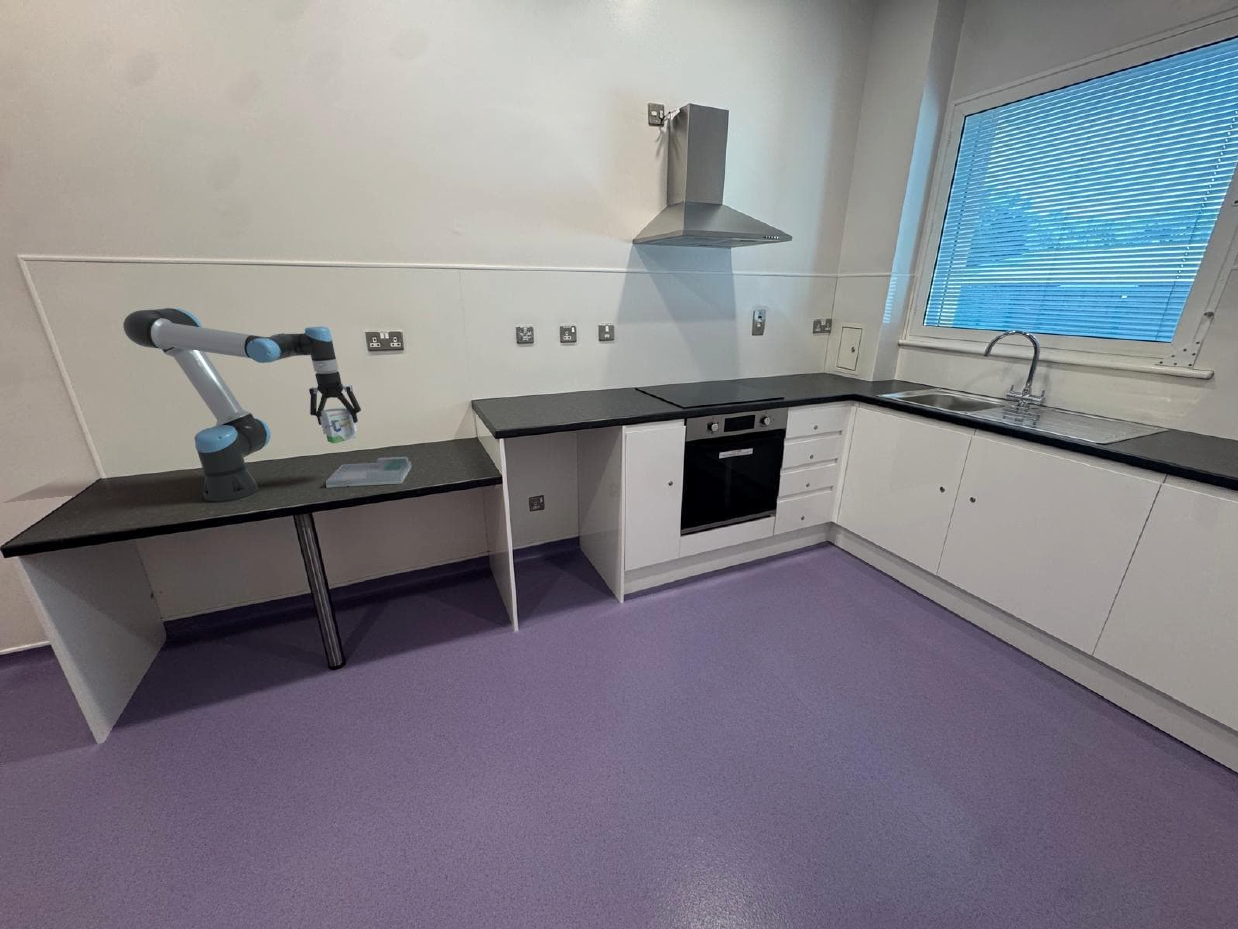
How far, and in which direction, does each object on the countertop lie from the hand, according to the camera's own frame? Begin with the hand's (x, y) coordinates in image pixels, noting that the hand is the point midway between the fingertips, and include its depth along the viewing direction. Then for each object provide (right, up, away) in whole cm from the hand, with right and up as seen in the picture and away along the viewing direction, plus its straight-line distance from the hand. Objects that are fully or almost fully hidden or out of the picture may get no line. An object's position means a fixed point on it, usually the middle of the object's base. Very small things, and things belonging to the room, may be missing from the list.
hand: (340, 432), depth 183 cm
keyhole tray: (+8, -17, +8) cm, 20 cm away
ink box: (0, -3, +1) cm, 3 cm away
